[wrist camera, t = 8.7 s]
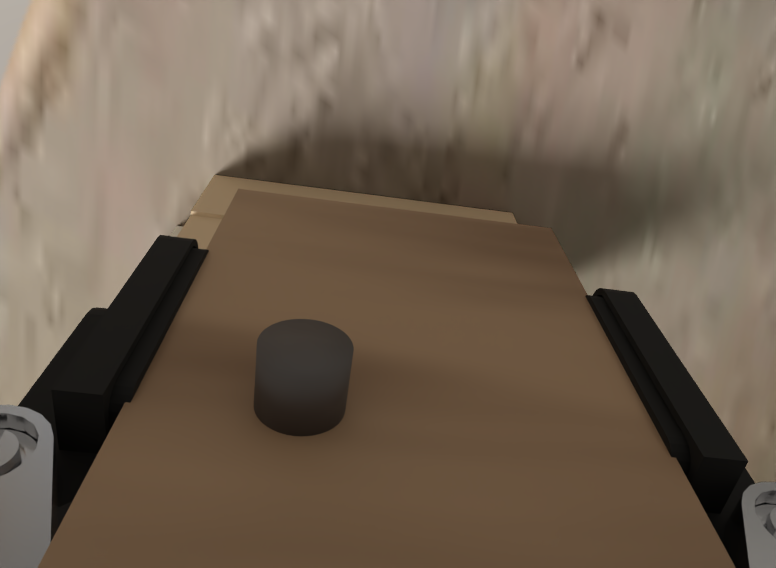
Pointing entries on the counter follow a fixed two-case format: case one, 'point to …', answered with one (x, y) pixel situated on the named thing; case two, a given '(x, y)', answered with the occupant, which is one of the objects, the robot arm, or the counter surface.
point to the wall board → (224, 189)
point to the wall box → (383, 411)
